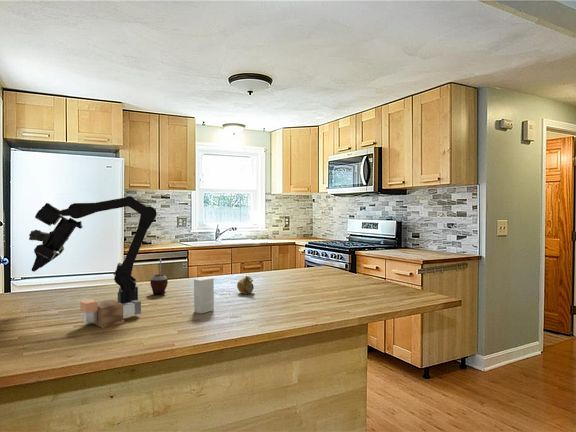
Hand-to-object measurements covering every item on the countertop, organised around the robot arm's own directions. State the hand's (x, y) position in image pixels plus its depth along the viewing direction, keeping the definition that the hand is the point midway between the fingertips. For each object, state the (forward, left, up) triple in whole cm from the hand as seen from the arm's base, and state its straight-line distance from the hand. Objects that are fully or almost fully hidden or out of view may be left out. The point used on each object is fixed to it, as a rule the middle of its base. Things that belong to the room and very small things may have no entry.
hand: (36, 269), depth 147 cm
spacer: (-5, +34, -10) cm, 36 cm away
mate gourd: (-44, +8, -15) cm, 48 cm away
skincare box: (-41, +45, -15) cm, 63 cm away
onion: (-71, +34, -15) cm, 81 cm away
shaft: (-13, +34, -14) cm, 39 cm away
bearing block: (-11, +34, -15) cm, 39 cm away
